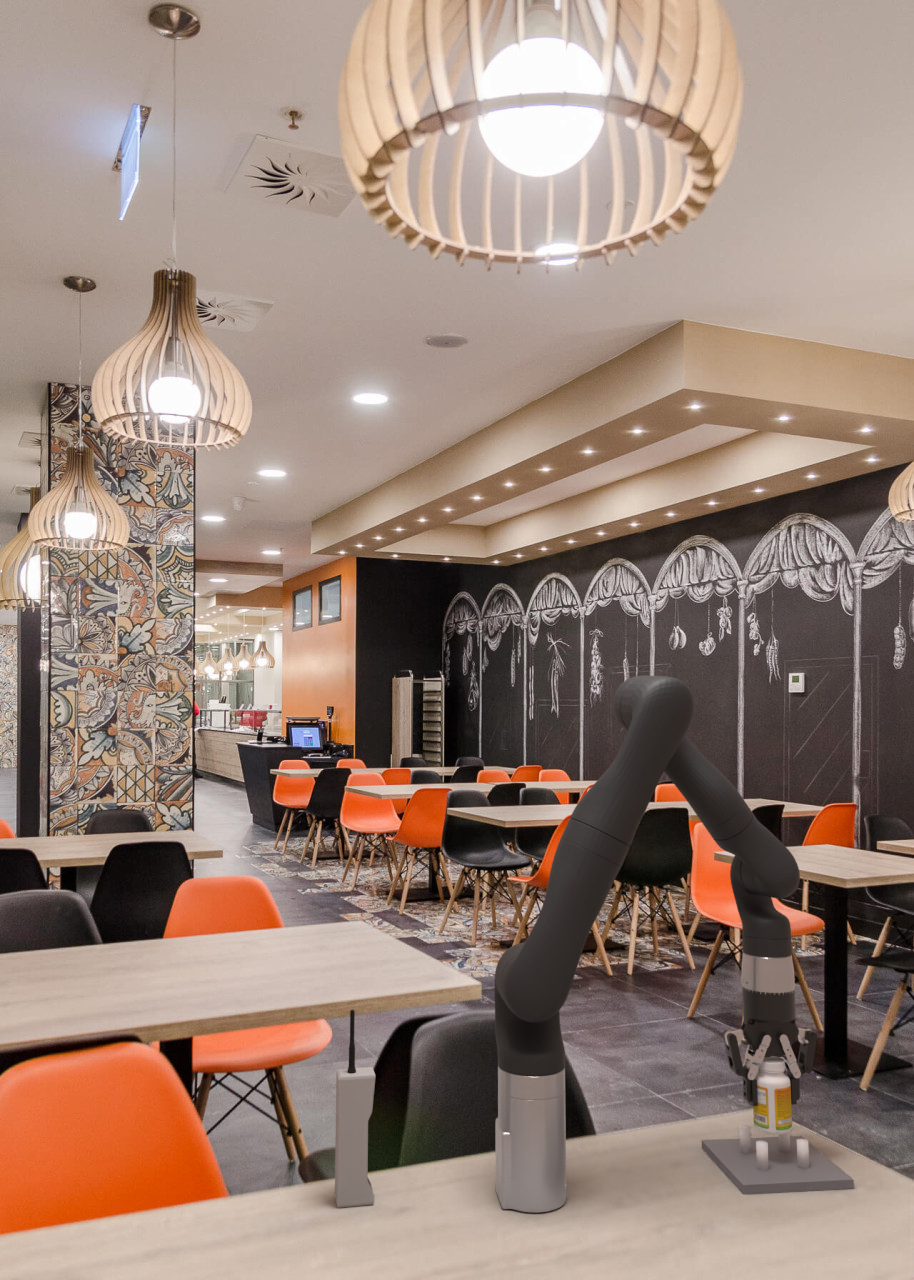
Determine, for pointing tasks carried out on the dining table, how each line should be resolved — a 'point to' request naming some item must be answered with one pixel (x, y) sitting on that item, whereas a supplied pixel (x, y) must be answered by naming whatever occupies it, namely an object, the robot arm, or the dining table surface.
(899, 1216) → the dining table surface
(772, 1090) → the supplement bottle
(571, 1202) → the dining table surface
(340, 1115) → the vintage mobile phone
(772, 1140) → the pin holder
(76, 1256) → the dining table surface
